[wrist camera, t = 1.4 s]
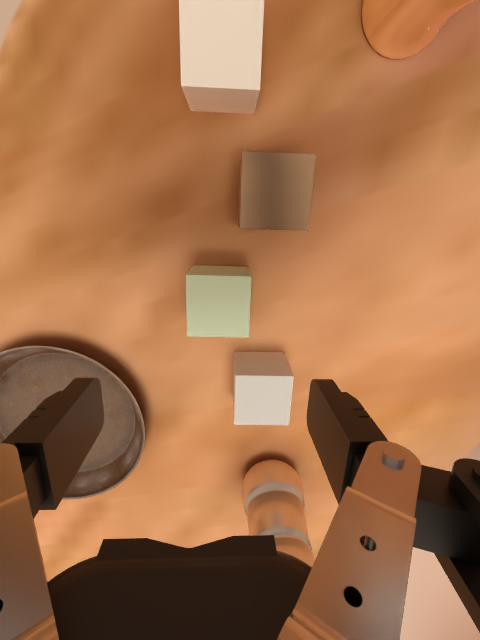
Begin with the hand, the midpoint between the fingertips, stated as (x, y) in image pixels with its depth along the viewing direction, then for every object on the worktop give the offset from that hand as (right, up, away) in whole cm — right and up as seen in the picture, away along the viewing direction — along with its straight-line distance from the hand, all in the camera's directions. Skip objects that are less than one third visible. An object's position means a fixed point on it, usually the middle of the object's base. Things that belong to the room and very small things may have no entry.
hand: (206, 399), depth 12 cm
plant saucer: (-17, -7, +21) cm, 28 cm away
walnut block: (+4, +14, +15) cm, 20 cm away
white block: (0, +22, +12) cm, 25 cm away
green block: (-1, +6, +17) cm, 18 cm away
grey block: (+3, -2, +20) cm, 20 cm away
